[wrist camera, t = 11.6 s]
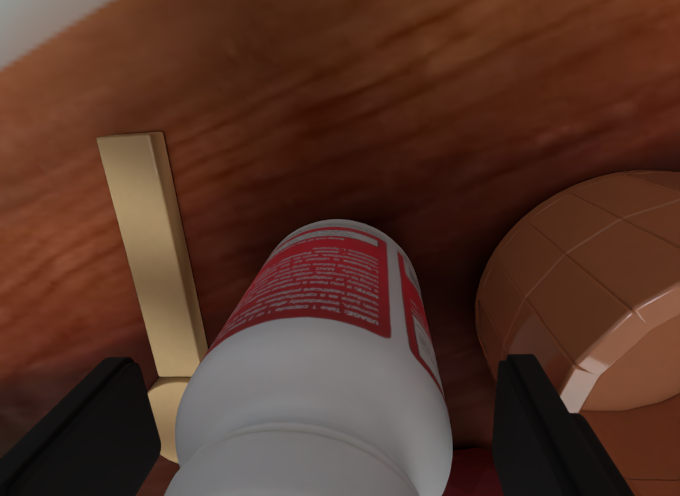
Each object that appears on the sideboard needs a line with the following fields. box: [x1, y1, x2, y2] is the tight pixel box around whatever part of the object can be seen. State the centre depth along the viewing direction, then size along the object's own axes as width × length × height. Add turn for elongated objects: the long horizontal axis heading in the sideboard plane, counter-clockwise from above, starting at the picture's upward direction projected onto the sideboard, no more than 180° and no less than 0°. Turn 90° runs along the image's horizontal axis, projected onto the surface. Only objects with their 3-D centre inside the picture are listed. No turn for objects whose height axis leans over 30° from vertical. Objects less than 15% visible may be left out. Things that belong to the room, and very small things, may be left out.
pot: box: [475, 170, 680, 496], centre depth 13 cm, size 10×10×7 cm
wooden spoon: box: [96, 132, 208, 464], centre depth 17 cm, size 15×5×1 cm, turn 4°
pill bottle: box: [164, 219, 453, 496], centre depth 11 cm, size 6×6×11 cm
